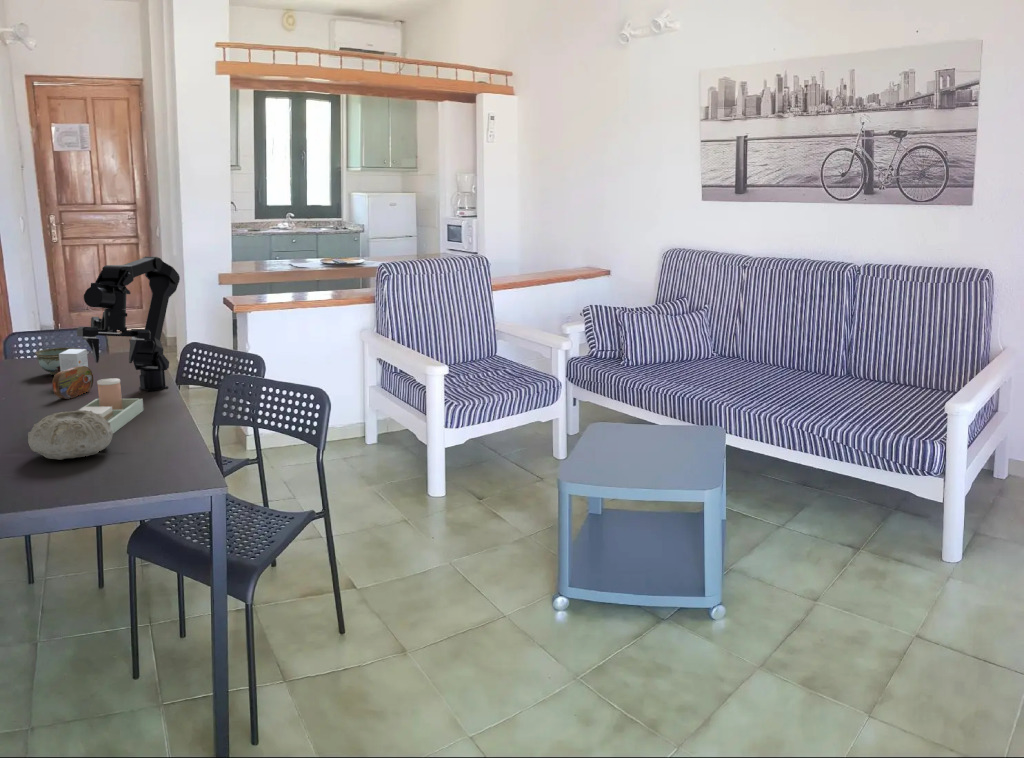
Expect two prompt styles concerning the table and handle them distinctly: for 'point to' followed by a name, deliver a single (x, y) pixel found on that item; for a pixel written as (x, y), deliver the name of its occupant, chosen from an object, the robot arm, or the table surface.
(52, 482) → the table surface
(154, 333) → the robot arm
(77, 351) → the small box
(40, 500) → the table surface
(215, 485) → the table surface
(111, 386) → the canister
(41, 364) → the bowl
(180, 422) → the table surface
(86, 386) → the tin
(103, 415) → the block
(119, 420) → the tote
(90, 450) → the grey rounded lump
